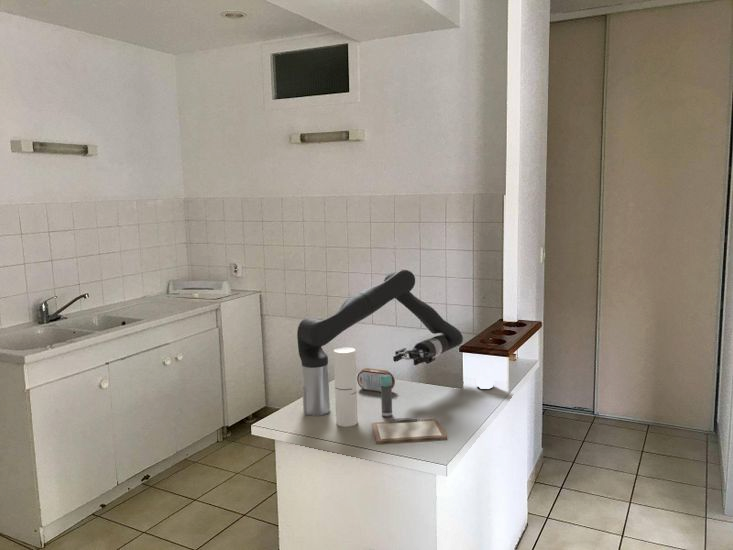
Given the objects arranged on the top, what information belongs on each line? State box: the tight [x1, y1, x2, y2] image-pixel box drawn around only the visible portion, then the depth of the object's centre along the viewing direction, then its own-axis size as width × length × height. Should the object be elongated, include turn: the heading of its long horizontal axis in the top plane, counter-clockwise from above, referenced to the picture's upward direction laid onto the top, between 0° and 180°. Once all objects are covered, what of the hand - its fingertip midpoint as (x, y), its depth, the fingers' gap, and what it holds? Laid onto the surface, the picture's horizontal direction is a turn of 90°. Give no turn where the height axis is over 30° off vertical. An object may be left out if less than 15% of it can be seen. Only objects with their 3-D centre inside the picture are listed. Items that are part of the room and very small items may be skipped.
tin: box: [356, 367, 396, 392], centre depth 234 cm, size 15×3×8 cm, turn 66°
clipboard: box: [371, 416, 448, 445], centre depth 194 cm, size 22×15×2 cm
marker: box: [380, 375, 393, 419], centre depth 208 cm, size 4×4×14 cm
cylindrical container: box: [333, 346, 359, 428], centre depth 202 cm, size 7×7×25 cm
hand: (404, 360), depth 215 cm, fingers open, 8 cm apart
